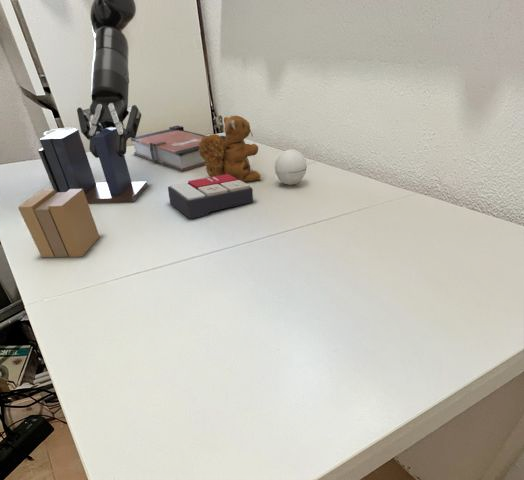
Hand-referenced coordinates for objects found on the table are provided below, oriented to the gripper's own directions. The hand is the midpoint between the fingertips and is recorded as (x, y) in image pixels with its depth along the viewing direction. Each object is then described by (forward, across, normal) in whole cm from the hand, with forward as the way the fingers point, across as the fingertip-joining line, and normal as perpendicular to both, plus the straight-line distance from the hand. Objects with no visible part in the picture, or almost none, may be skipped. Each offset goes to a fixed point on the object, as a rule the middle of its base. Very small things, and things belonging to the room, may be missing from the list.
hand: (107, 155), depth 83 cm
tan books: (+24, 0, -11) cm, 27 cm away
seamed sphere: (+2, +41, +11) cm, 42 cm away
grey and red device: (+10, +23, +3) cm, 25 cm away
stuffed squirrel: (-1, +25, +14) cm, 29 cm away
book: (-16, +7, +29) cm, 34 cm away
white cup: (-8, -20, +21) cm, 30 cm away
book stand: (+5, -5, +8) cm, 10 cm away
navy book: (+4, 0, +7) cm, 8 cm away
